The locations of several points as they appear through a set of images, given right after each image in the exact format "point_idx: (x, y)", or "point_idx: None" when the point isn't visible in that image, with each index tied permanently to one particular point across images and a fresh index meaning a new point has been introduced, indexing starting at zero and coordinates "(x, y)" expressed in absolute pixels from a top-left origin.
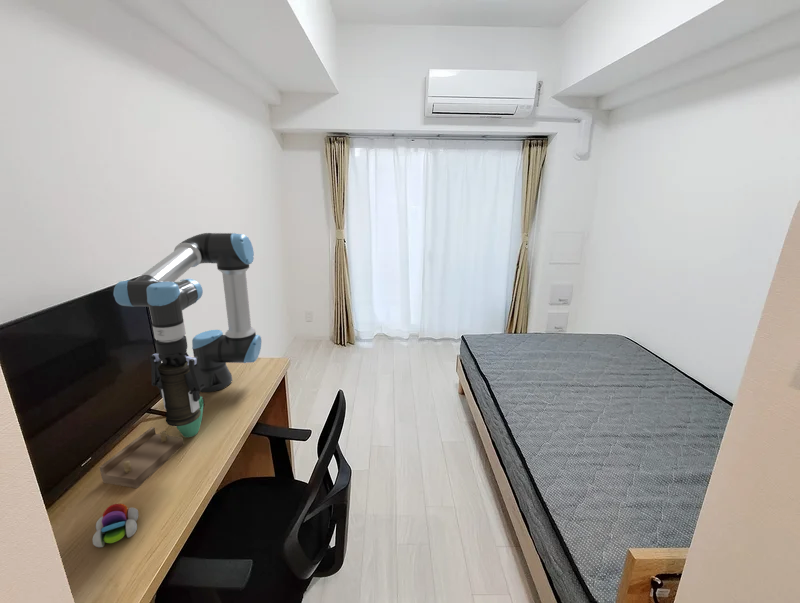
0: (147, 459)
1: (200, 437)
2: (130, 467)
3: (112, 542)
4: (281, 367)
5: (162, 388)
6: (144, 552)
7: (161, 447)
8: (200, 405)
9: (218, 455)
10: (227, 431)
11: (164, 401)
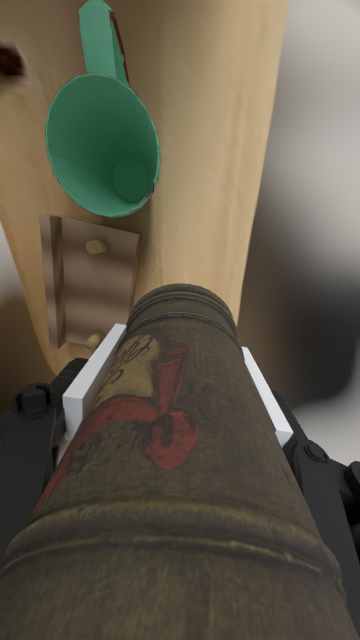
0: (109, 307)
1: (165, 202)
2: (100, 338)
3: None
4: None
5: (64, 431)
6: None
7: (112, 271)
8: (134, 103)
9: (228, 269)
10: (224, 172)
11: None
